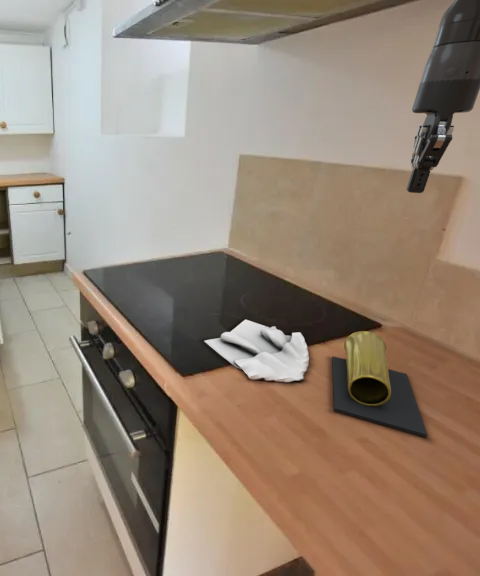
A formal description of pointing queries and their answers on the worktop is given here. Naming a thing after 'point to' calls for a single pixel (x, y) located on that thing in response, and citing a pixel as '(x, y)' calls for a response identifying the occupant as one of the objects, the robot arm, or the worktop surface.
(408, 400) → the mat
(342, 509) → the worktop surface
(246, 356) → the cloth
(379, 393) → the vase
